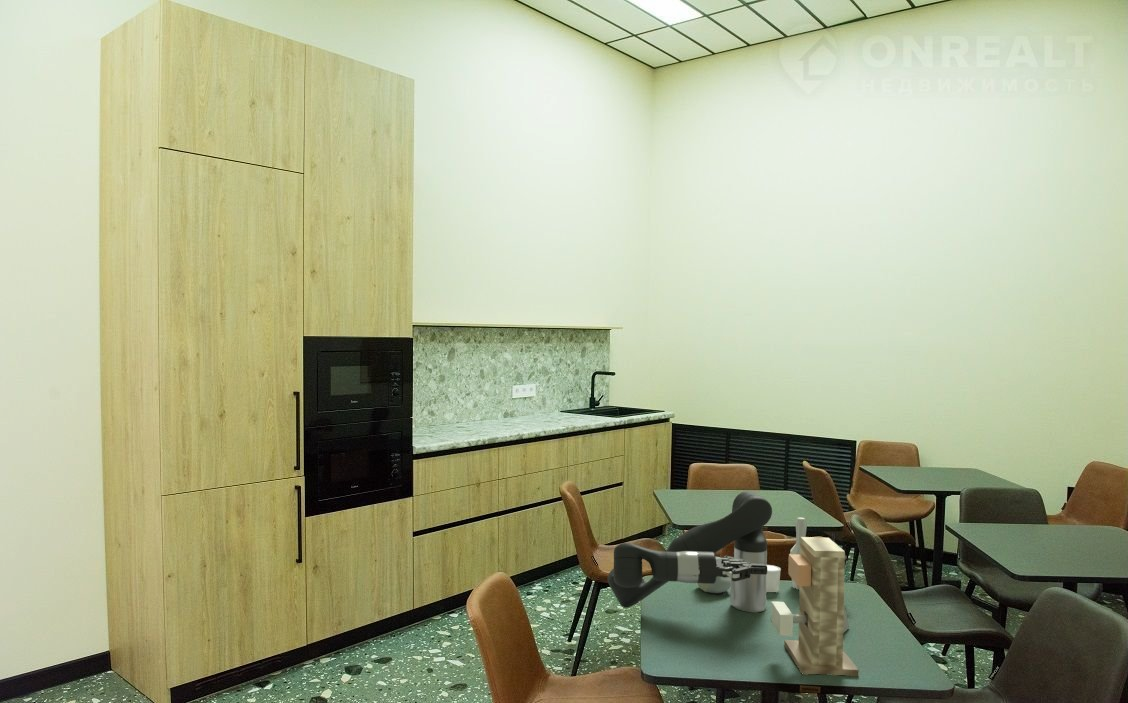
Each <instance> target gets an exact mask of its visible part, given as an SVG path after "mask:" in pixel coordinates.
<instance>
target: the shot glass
mask: <svg viewBox="0 0 1128 703" xmlns="http://www.w3.org/2000/svg"><path fill="white" fill-rule="evenodd" d="M781 571H782V568H781V567H779V566H776V565H772V564H767V574H766V593H767V592H776V593H778V592H779V590H780V588H779V587H780V581H781V580H780V579H781Z"/></svg>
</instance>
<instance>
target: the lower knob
mask: <svg viewBox="0 0 1128 703" xmlns="http://www.w3.org/2000/svg"><path fill="white" fill-rule="evenodd" d="M770 603H771V604H770V605H771V606H770V608H771V610H770V611H771V614H770V617H771V618H770V621H771V623H772V625H773V627H774V628H775V630H776V632H777V633H778V634H779V636H781V637H794V624H799V623H808V615H799V613H798V614H793V612H792V611H791V610H790V608H789V607H788V606H787V604H786V603H785V602H784V601H771V602H770Z"/></svg>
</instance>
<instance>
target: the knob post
mask: <svg viewBox="0 0 1128 703" xmlns="http://www.w3.org/2000/svg"><path fill="white" fill-rule="evenodd" d="M800 554H801V555H802V556H803V557H804V558H805V559H806V560H807V561H808V563H809V564H810V565H811V586H800V590H799V593H798V594H799V602H798V603H799V604H798V606H799V608H798V615H808V623H798V639H784V640H783V642H784V645H783V646H784V647H785V649H786V651H787V652H788V655H789V656H790V657H791V659H792V660H793V663H794V664H795V665H797V666H796V667H797V669H798V668H799V669H798V671H799V670H800V671H801V672H800V671H799V672H800V674H801V673H803V674H802V675H808V674H832V675H831V676H837V675H847V676H846V677H859V672H860V671H859V669H858V667H857V665H855V664H854V662H853V661H852V660H851V658H850V657H849V656H848V654H846V652H845V651H844V633H843V619H844V607H845V604H844V603H845V568H846V567H845V565H846V559H845V555H846V552H845V550H844V549H843V548H842V547H840V546H839V545H838V544H837V543H836V542H835V541H834V542H833V541H832V538H830V537H816V536H815V537H813V536H812V537H811V536H810V537H809V536H806V537H801V538H800ZM849 675H850V676H849Z"/></svg>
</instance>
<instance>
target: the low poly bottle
mask: <svg viewBox="0 0 1128 703" xmlns="http://www.w3.org/2000/svg"><path fill="white" fill-rule="evenodd" d="M806 521H807V520H806V518H805V517H800V516H799V517H797V518H796V521H795V532H796V534H795V535H796V536H795V540H796V541H795V542H796V543H795V544H794V545H793V547H791V549H790V553H789V554H800V538H801V537H807V536H806V535H807V526H808V525H807V522H806ZM791 583H792V588H793V589H795V588H796V590H798V589H800V586H798V585H797V584H796V583H795V582H794V580H793V579H792V578H791Z"/></svg>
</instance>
